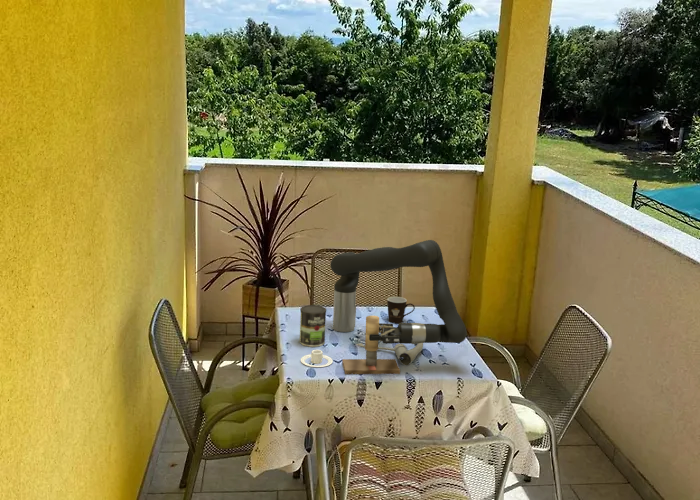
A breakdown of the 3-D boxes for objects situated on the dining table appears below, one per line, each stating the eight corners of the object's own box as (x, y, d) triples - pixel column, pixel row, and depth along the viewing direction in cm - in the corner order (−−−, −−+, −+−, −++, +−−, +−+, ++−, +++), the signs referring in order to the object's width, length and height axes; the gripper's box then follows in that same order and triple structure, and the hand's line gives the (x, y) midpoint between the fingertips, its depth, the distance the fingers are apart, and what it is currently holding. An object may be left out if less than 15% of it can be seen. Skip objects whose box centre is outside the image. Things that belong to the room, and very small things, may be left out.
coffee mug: (382, 321, 297) (383, 299, 294) (392, 316, 304) (393, 295, 301) (404, 327, 290) (406, 305, 288) (414, 322, 297) (416, 301, 295)
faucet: (345, 357, 263) (377, 336, 286) (411, 366, 249) (438, 343, 273) (345, 345, 262) (376, 325, 285) (410, 354, 248) (438, 331, 272)
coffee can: (328, 345, 266) (330, 312, 263) (304, 348, 263) (305, 314, 259) (320, 336, 276) (321, 303, 272) (296, 338, 272) (297, 305, 268)
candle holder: (301, 355, 256) (301, 344, 255) (332, 356, 257) (333, 346, 256) (299, 368, 245) (300, 357, 244) (332, 369, 245) (333, 358, 244)
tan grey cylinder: (369, 360, 249) (370, 314, 245) (380, 363, 247) (381, 317, 243) (362, 364, 246) (363, 318, 241) (373, 367, 243) (374, 320, 239)
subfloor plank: (345, 374, 241) (345, 369, 240) (342, 363, 250) (342, 358, 250) (399, 373, 243) (400, 369, 243) (394, 362, 253) (395, 358, 252)
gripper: (408, 316, 251) (365, 316, 249) (416, 330, 237) (371, 330, 235) (407, 335, 253) (364, 335, 251) (414, 350, 239) (369, 350, 237)
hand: (367, 333), depth 243 cm, fingers open, 8 cm apart
